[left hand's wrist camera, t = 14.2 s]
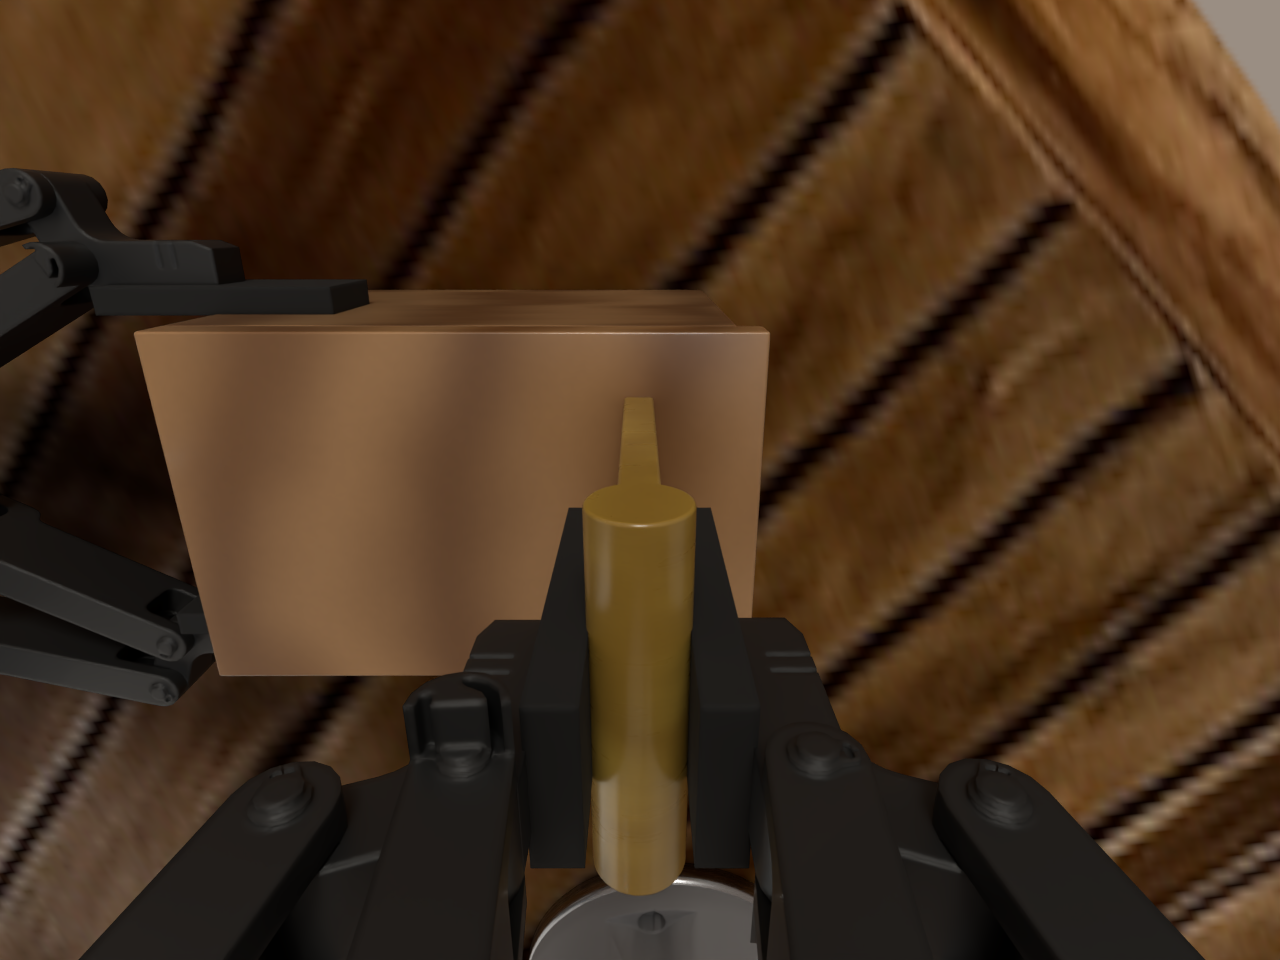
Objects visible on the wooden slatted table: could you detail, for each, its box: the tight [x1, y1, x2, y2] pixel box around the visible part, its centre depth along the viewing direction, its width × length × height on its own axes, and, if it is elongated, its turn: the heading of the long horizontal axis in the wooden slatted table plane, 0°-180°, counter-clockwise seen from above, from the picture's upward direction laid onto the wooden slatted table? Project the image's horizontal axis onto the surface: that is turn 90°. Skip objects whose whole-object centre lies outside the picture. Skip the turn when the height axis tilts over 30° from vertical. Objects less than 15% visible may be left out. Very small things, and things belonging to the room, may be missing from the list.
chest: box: [165, 290, 736, 326], centre depth 23 cm, size 14×9×10 cm
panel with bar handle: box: [134, 326, 770, 896], centre depth 14 cm, size 15×9×9 cm, turn 90°
